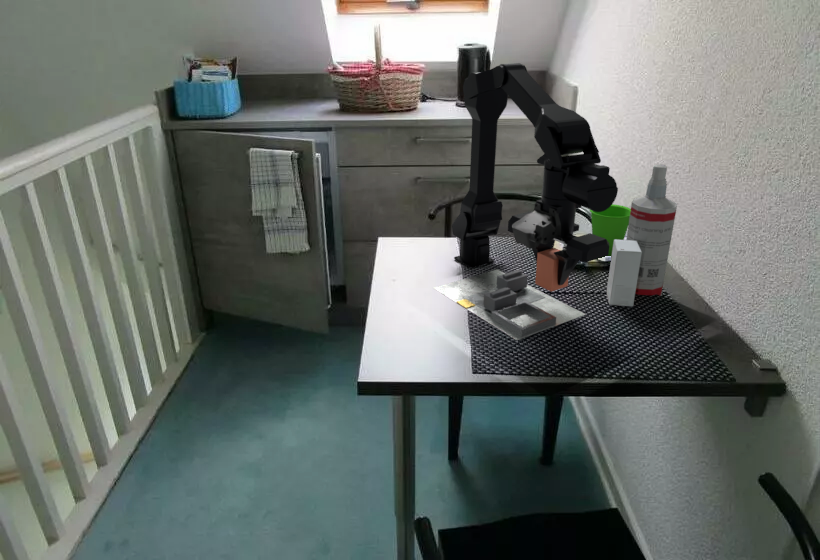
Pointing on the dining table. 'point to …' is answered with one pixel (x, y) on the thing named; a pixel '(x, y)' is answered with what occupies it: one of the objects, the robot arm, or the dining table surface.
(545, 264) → the orange-red rectangular block
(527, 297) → the panel
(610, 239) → the cup
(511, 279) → the toggle
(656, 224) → the spray bottle
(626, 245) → the skincare box
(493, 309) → the toggle
